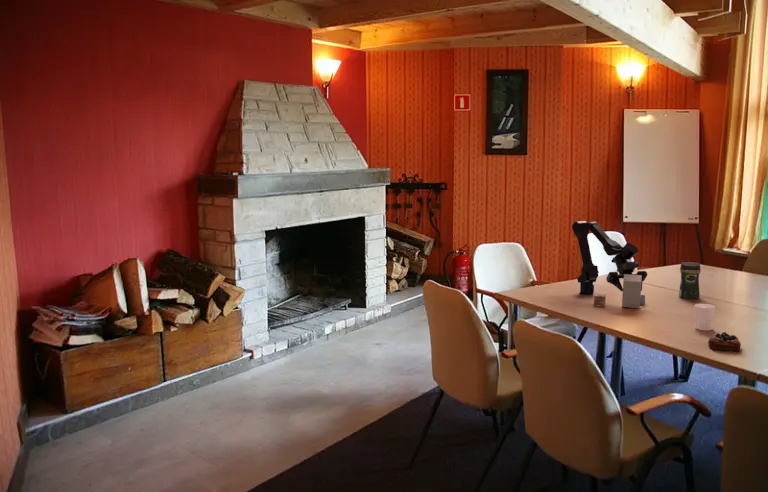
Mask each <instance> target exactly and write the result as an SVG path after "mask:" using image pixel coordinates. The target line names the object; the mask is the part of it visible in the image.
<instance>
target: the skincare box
mask: <svg viewBox="0 0 768 492" xmlns="http://www.w3.org/2000/svg"><path fill="white" fill-rule="evenodd" d="M622 279H623V280H622V282H623V284H622V288H623V292H622V297H621V298H622V299H621V307H622V308H632V309H640V308H641V307H640V306H641V305H640V297H641V293H642V291H641V284H642V285H643V282H642V275H630V274H624V278H622Z"/></svg>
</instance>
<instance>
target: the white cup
mask: <svg viewBox="0 0 768 492" xmlns="http://www.w3.org/2000/svg"><path fill="white" fill-rule="evenodd" d="M715 313H716V306H715V305H713V304H709V303H695V304H694V316H693V317H694V328H695V329H696V330H700V331H708V332H709V331H712V330H713V329H714V328H713V327H714V320H715Z"/></svg>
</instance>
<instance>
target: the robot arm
mask: <svg viewBox="0 0 768 492" xmlns="http://www.w3.org/2000/svg"><path fill="white" fill-rule="evenodd" d="M571 229H572V232H573V234H574V236H575V237H576V238H577V241H578V247H579V252H580V256H581V262H582V266H581V269H580V273H581V274H580V275H579V276H578V277H577V283H579V284H580V288H579V289H580V290H579V294H580V293H581V294H580V295H588V294H591V295H590V296H592V295H594V293H595V284H594V283H596V282H597V279H598V277H599V273H600V272H599V268H598V265H596V264H594V263H593V259H592V254H591V253H592V252H591V250H590V245H589V244H590V243H589V238H588V236H589V233H590V232H591V233H592V235H594V237H595V238H596V239H597V240H598V242H599V243H601V245H602V247H603V250H604V252H605V253H606V255H607V256H609V257H610V256H611V257H612V259H611V263H614V264H615V266H616V271H610V272H608V274H607V275H606V282H607V283H609V284H610V285H612V286H614V287H615V288H616V289H618V290H620V292H622V293H623V284H622V283H621V280H620V279H624V274H630V275H642V284H641V292H642V291H643V282H644V281H645V280H646V278H647V277H648V273H647V271H646V270H637V272H636V273H634V270H635V269H638V268H639V267H640V265H639V261H638V260H633V261H628V260H631V259H632V258H633V257H634V256H636V255H637V253H638V252H639V248H638V247H637V246H635V245H634V244H632V243H631V242H626V243H625V244H624V246H622V244H620V243H618V242H617V241H616V240H613V239H612V238H611V237H610V236H608V234H607V233H606V232H605V231H604V230H603V229H602V227H600V225H599V224H598V222H597V221H589V222H587V221H585V220H582V221H581V220H580V221H574V222H573V223H572V225H571ZM613 256H614V257H613Z"/></svg>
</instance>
